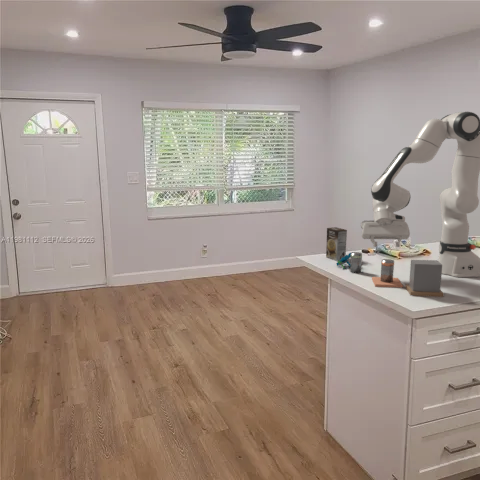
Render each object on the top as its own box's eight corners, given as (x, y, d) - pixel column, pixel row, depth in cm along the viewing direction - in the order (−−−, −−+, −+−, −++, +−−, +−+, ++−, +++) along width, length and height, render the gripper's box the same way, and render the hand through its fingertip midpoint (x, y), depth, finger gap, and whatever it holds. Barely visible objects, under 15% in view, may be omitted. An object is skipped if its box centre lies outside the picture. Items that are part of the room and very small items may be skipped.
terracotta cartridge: (391, 279, 184) (393, 259, 183) (394, 282, 179) (395, 262, 178) (379, 278, 185) (380, 258, 184) (381, 282, 180) (382, 261, 179)
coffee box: (325, 257, 230) (326, 227, 226) (334, 255, 232) (335, 226, 229) (336, 260, 222) (337, 230, 218) (346, 259, 224) (347, 229, 221)
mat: (397, 280, 187) (397, 277, 187) (402, 287, 176) (402, 285, 176) (371, 279, 189) (371, 276, 189) (375, 286, 178) (375, 284, 178)
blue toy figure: (344, 259, 217) (355, 248, 210) (351, 268, 215) (363, 258, 208) (330, 266, 211) (341, 255, 203) (338, 275, 209) (349, 265, 201)
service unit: (436, 288, 174) (438, 259, 172) (443, 296, 164) (445, 265, 162) (405, 287, 176) (407, 258, 174) (410, 295, 167) (412, 264, 164)
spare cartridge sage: (361, 270, 202) (362, 252, 201) (361, 273, 197) (362, 254, 196) (350, 270, 204) (350, 251, 202) (349, 273, 199) (350, 254, 197)
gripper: (361, 216, 193) (362, 242, 186) (408, 216, 190) (412, 242, 182) (359, 224, 198) (361, 249, 191) (405, 224, 195) (409, 250, 187)
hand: (386, 246), depth 187 cm, fingers open, 8 cm apart
